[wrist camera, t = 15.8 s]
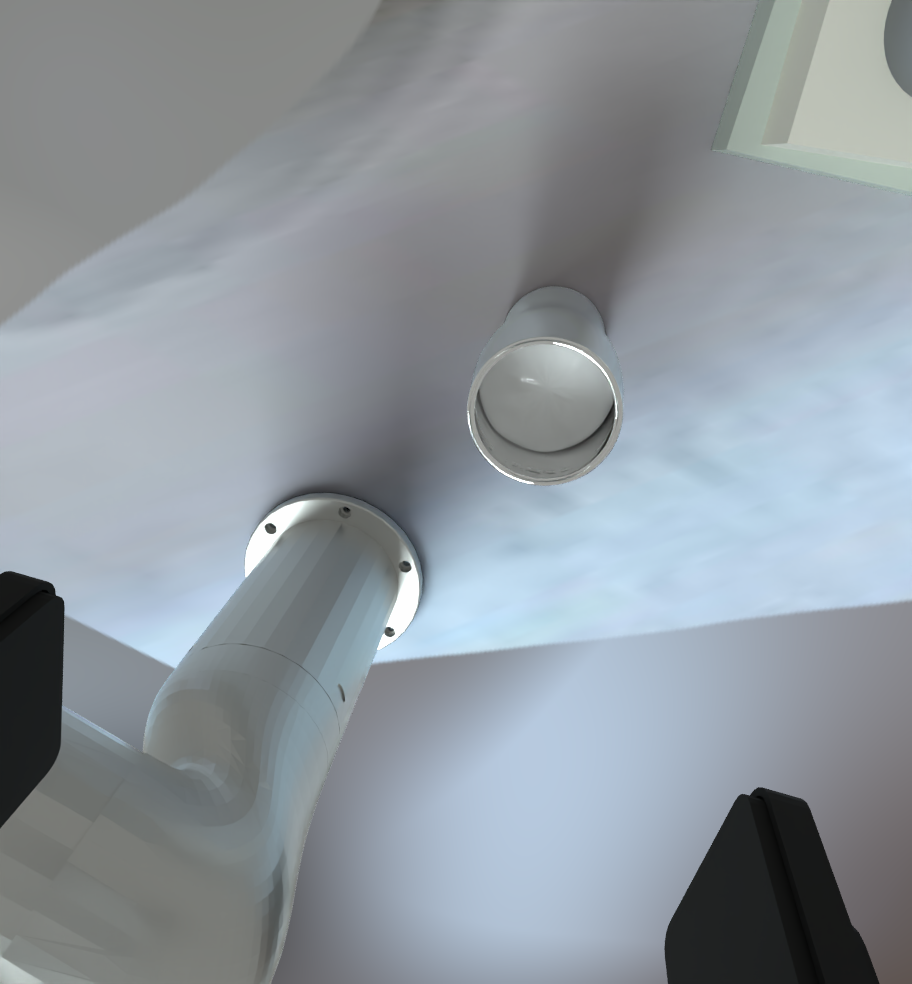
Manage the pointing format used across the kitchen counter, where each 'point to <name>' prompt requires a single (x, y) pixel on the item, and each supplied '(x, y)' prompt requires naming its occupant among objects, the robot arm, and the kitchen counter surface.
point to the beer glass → (547, 390)
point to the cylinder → (899, 43)
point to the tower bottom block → (755, 100)
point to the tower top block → (841, 87)
